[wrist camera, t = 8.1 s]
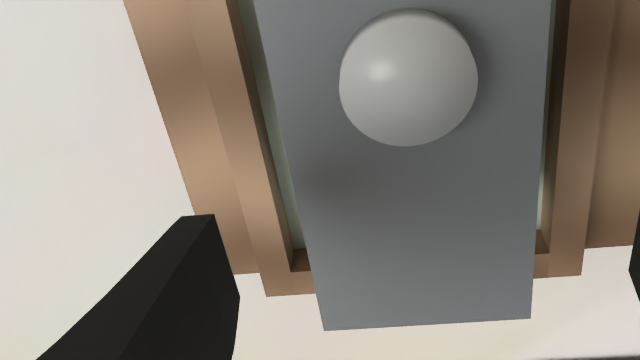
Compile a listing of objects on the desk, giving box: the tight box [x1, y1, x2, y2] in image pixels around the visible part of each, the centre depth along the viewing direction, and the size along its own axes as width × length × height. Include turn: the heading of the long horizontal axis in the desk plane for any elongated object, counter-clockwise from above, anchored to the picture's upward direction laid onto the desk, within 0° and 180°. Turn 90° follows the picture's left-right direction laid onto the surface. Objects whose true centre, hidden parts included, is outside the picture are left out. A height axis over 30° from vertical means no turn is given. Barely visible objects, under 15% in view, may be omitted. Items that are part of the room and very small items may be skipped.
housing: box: [253, 0, 551, 331], centre depth 14 cm, size 9×5×6 cm, turn 9°
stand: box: [123, 0, 640, 297], centre depth 17 cm, size 14×14×3 cm
